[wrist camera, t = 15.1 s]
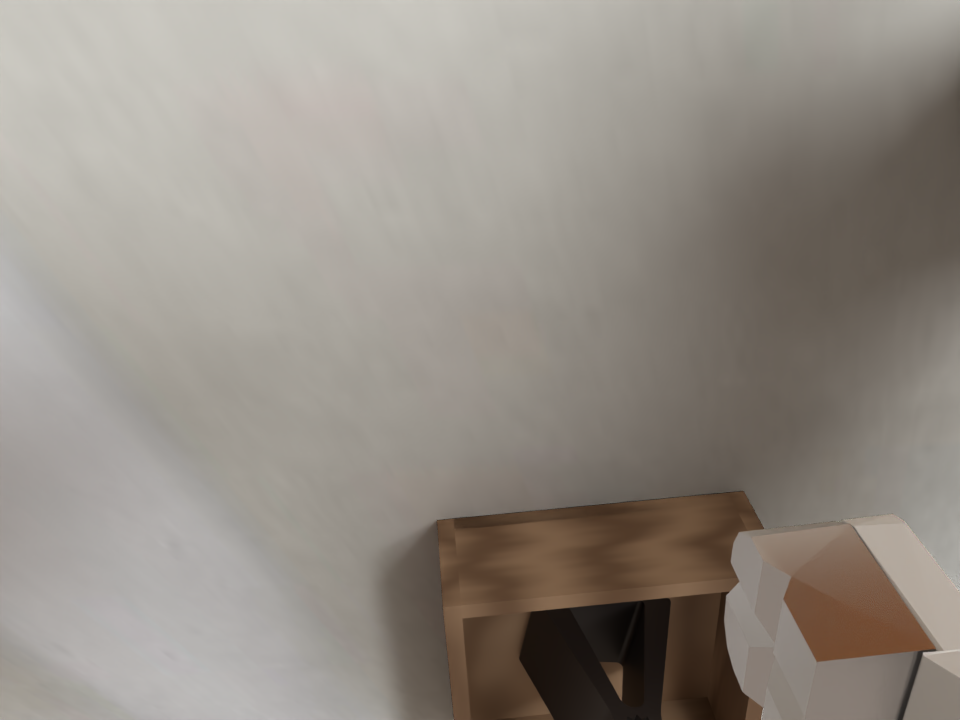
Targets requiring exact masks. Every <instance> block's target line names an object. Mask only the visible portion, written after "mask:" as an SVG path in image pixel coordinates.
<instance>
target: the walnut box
mask: <svg viewBox="0 0 960 720" xmlns="http://www.w3.org/2000/svg"><path fill="white" fill-rule="evenodd" d="M437 526H438V542H439V557H440V572H441V588H442V603H443V615H444V625H445V635H446V645H447V655H448V665H449V675H450V685H451V695H452V705H453V715H454V720H554V719H553V717H552V715H551V713H550V712H549V710H548V708H547V706H546V705H545V703H544V701H543V700H542V698H541V696H540V694H539V693H538V691H537V689H536V688H535V686H534V684H533V682H532V681H531V679H530V677H529V676H528V674H527V672H526V670H525V669H524V667H523V665H522V664H521V662H520V660H519V657H520V653H521V649H522V645H523V641H524V637H525V633H526V629H527V625H528V621H529V617H530V613H531V612H532V611H542V610H552V609H562V608H571V607H581V606H591V605H601V604H611V603H621V602H631V601H641V600H651V599H661V598H669V599H670V601H671V607H670V617H669V628H668V639H667V650H666V661H665V671H664V682H663V693H662V704H661V717H662V720H761V715H762V710H763V707H762V706H760V705H759V704H758V703H756V702H755V701H754V700H752V699H751V698H750V697H748V696H747V695H746V694H744V693H743V692H742V690H741V687H740V685H739V682H738V680H737V677H736V675H735V672H734V670H733V666H732V663H731V659H730V656H729V652H728V649H727V641H726V632H725V624H724V616H725V605H726V595H727V594H728V593H729V592H730V591H731V590H732V589H733V588H734V587H735V586H736V585H737V584H738V583H739V582H740V581H739V579H738V577H737V575H736V573H735V571H734V568H733V566H732V564H731V556H732V549H733V543H734V541H735V539H736V537H737V535H738V533H739V532H744V531H752V530H761V529H764V528H763V526H762V524H761V522H760V520H759V518H758V517H757V515H756V513H755V511H754V509H753V507H752V506H751V504H750V502H749V500H748V498H747V496H746V494H745V493H744V491H740V492H729V493H719V494H708V495H698V496H687V497H677V498H666V499H656V500H645V501H635V502H624V503H613V504H603V505H592V506H582V507H571V508H561V509H550V510H540V511H529V512H519V513H508V514H498V515H487V516H477V517H466V518H456V519H445V520H437ZM600 664H601V666H602V667H603V669H604V671H605V673H606V675H607V676H608V678H609V680H610V682H611V683H612V685H613V687H614V689H615V691H616V692H617V694H618V696H619V698H620V700H621V701H622V681H623V667H622V665H621V664H620V663H617V662H600Z"/></svg>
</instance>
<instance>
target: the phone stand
mask: <svg viewBox="0 0 960 720" xmlns="http://www.w3.org/2000/svg"><path fill="white" fill-rule="evenodd" d="M670 607H671V601H670V599H669V598H661V599H651V600H641V601H631V602H621V603H611V604H601V605H591V606H581V607H571V608H562V609H552V610H542V611H532V612H531V613H530V617H529V621H528V625H527V629H526V633H525V637H524V641H523V645H522V649H521V653H520V657H519V660H520V662H521V664H522V665H523V667H524V669H525V670H526V672H527V674H528V676H529V677H530V679H531V681H532V682H533V684H534V686H535V688H536V689H537V691H538V693H539V694H540V696H541V698H542V700H543V701H544V703H545V705H546V706H547V708H548V710H549V712H550V713H551V715H552V717H553V719H554V720H662V717H661V704H662V693H663V682H664V671H665V661H666V650H667V639H668V628H669V617H670ZM600 662H617V663H620V664H621V665H622V667H623V681H622V701H621V700H620V698H619V696H618V694H617V692H616V691H615V689H614V687H613V685H612V683H611V682H610V680H609V678H608V676H607V675H606V673H605V671H604V669H603V667H602V666H601V664H600Z"/></svg>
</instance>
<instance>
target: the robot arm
mask: <svg viewBox="0 0 960 720" xmlns="http://www.w3.org/2000/svg"><path fill="white" fill-rule="evenodd" d="M731 564H732V566H733V568H734V571H735V573H736V575H737V577H738V579H739V581H740V582H739V583H738V584H737V585H736V586H735V587H734V588H733V589H732V590H731V591H730V592H729V593H728V594H727V595H726V605H725V616H724V624H725V632H726V641H727V649H728V652H729V656H730V659H731V663H732V666H733V670H734V672H735V675H736V677H737V680H738V682H739V685H740V687H741V690H742V692H743V693H744V694H746V695H747V696H748V697H750V698H751V699H752V700H754V701H755V702H756V703H758V704H759V705H760V706H762V707H763V708H764V709H763V715H762V720H960V592H959V590H958V589H957V588H956V587H955V585H954V584H953V583H952V581H951V580H950V579H949V578H948V576H947V575H946V574H945V572H944V571H943V570H942V569H941V567H940V566H939V565H938V563H937V562H936V561H935V560H934V558H933V557H932V556H931V554H930V553H929V552H928V551H927V549H926V548H925V547H924V546H923V544H922V543H921V542H920V540H919V539H918V538H917V537H916V535H915V534H914V533H913V531H912V530H911V529H910V528H909V526H908V525H907V524H906V522H905V521H904V520H902V519H901V518H899V517H897V516H895V515H894V514H887V515H879V516H870V517H862V518H853V519H845V520H841V521H839V522H838V521H830V522H821V523H813V524H804V525H795V526H787V527H778V528H769V529H761V530H752V531H744V532H739V533H738V535H737V537H736V539H735V541H734V543H733V549H732V556H731Z"/></svg>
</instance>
